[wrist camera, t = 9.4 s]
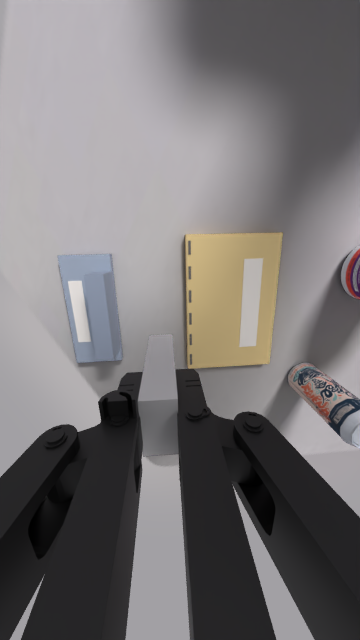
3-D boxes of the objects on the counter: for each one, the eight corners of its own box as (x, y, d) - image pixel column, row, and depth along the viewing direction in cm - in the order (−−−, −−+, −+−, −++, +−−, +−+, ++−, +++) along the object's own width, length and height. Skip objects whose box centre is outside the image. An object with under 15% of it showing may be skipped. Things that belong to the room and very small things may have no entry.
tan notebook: (184, 235, 27) (186, 234, 26) (277, 233, 28) (283, 232, 27) (187, 364, 32) (188, 369, 31) (265, 359, 33) (269, 364, 32)
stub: (61, 255, 27) (39, 255, 22) (111, 254, 27) (100, 254, 22) (79, 359, 31) (64, 378, 26) (123, 356, 31) (115, 375, 26)
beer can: (308, 355, 34) (384, 407, 22) (319, 378, 35) (395, 438, 24) (281, 371, 34) (341, 430, 23) (292, 392, 35) (355, 459, 24)
